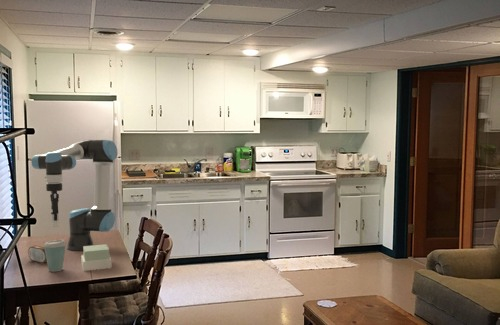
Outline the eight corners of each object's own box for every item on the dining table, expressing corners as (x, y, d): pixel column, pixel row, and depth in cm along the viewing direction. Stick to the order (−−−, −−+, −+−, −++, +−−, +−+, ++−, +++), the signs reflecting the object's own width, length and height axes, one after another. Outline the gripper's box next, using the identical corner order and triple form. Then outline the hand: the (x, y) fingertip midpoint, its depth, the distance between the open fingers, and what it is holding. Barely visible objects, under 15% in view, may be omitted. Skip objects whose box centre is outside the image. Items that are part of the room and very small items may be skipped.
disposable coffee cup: (44, 274, 256) (43, 244, 255) (44, 268, 266) (43, 239, 265) (67, 271, 260) (66, 242, 259) (66, 266, 270) (65, 237, 268)
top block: (83, 255, 273) (83, 246, 273) (106, 253, 278) (106, 244, 277) (85, 261, 262) (84, 251, 262) (109, 258, 266) (109, 249, 266)
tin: (50, 263, 276) (50, 247, 275) (45, 264, 273) (45, 248, 272) (32, 259, 283) (31, 244, 283) (27, 260, 281) (26, 245, 280)
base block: (81, 264, 274) (81, 255, 274) (108, 261, 279) (108, 252, 279) (83, 271, 261) (83, 261, 261) (111, 268, 266) (111, 259, 266)
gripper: (45, 180, 270) (46, 221, 271) (46, 185, 247) (47, 229, 248) (60, 180, 273) (61, 220, 274) (63, 185, 250) (64, 228, 251)
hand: (55, 224), depth 261 cm, fingers open, 13 cm apart
